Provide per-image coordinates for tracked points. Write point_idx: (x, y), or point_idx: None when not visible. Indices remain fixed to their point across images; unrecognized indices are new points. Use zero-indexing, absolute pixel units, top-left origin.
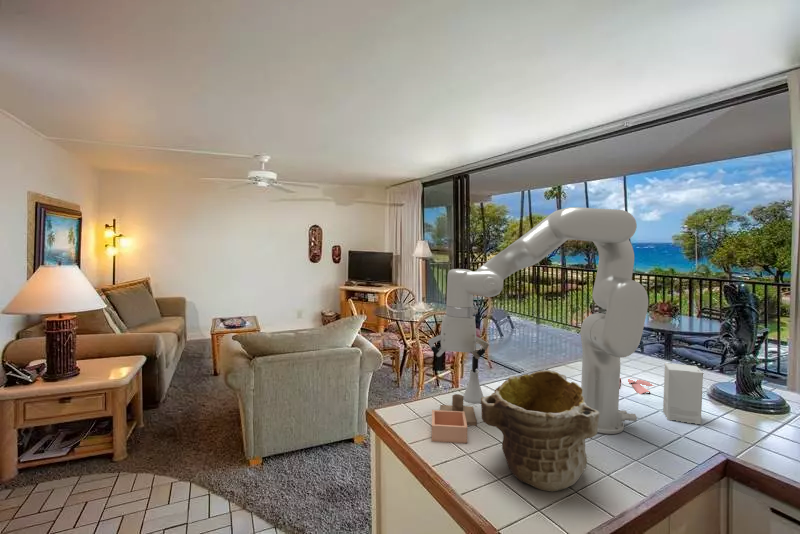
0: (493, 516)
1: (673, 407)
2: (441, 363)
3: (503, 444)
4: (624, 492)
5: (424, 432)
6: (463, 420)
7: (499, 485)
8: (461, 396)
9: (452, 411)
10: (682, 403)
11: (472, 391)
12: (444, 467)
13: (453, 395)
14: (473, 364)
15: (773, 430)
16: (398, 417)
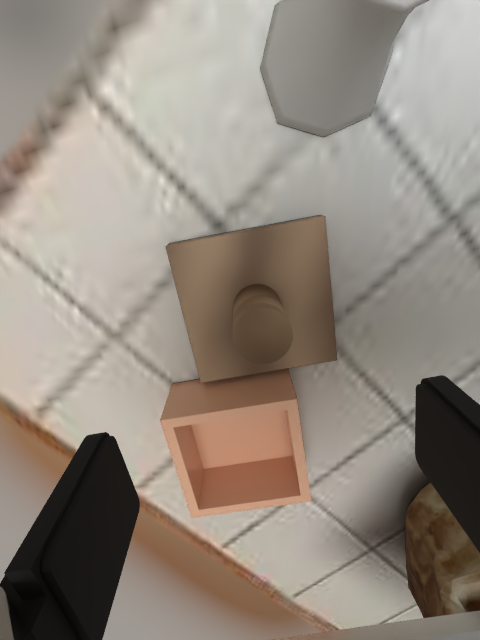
0: (349, 621)
1: None
2: (115, 573)
3: (417, 586)
4: None
5: (161, 428)
6: (295, 462)
7: (370, 564)
8: (281, 332)
9: (246, 410)
10: None
11: (334, 93)
12: (251, 545)
13: (237, 331)
14: (464, 528)
15: None
16: (34, 361)
